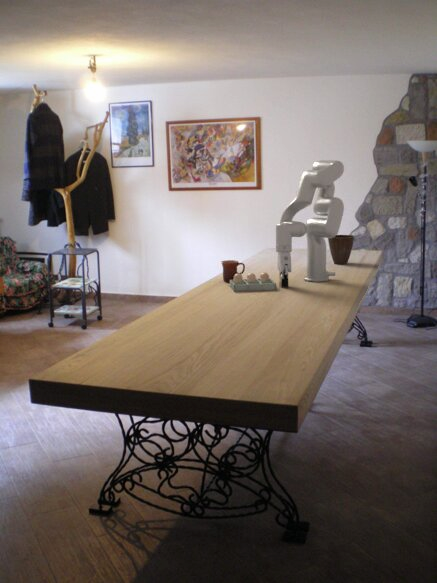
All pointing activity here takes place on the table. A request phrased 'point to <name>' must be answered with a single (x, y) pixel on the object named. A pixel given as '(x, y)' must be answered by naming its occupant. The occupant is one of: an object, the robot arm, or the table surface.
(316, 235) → the robot arm
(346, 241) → the plant pot
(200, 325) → the table surface
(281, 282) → the egg
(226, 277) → the mug
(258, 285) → the carton
